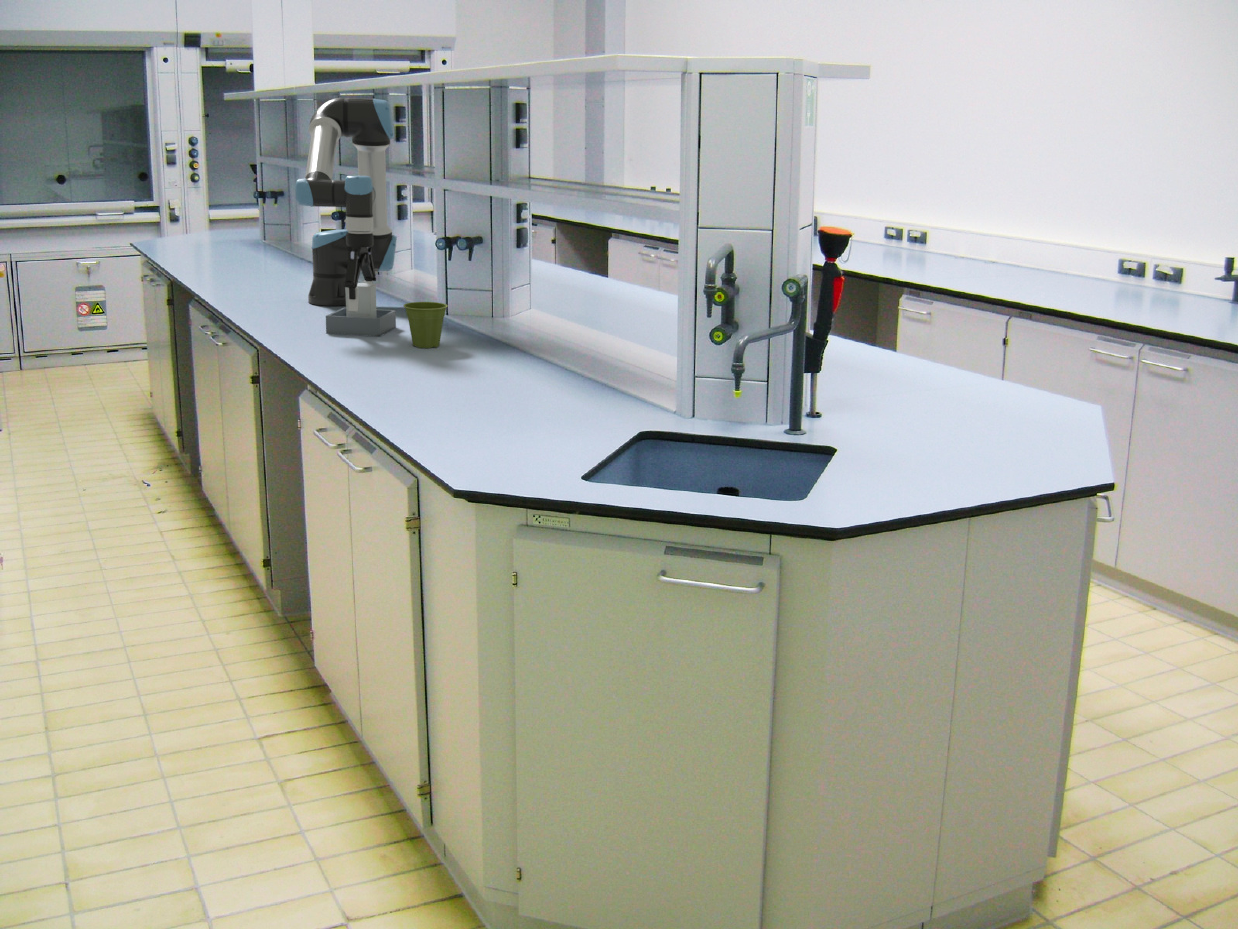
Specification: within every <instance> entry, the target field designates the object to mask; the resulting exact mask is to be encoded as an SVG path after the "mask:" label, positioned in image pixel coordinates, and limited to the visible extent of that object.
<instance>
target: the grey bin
mask: <svg viewBox="0 0 1238 929" xmlns="http://www.w3.org/2000/svg"><path fill="white" fill-rule="evenodd" d="M396 312H397V311H396V310H393V309H391V310H390V309H377V308H376V313H377V318H362V317H346V307H342V308H340V309H338V310H335V311H334V312H330V313H329V314H327V315H325V334H329V335H330V334H333V335H344V336H345V335H348V336H363V337H364V336H365V337H382V336H384V335H386V334H387V333H389V332H390V331H393V330H394V329H396V327H397V313H396Z"/></svg>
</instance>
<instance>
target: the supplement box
mask: <svg viewBox="0 0 1238 929" xmlns="http://www.w3.org/2000/svg"><path fill="white" fill-rule="evenodd" d="M376 285H377V284H376V283H374V282H373V283H363V282H358V284H357V288H358V300H359V311H349V309H348V288H347V287H345V291H346V305H345V308H346V317H362V318H377V313H376V309H377V286H376Z"/></svg>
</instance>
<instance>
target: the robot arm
mask: <svg viewBox="0 0 1238 929" xmlns="http://www.w3.org/2000/svg"><path fill="white" fill-rule="evenodd" d="M393 117H394V116H393V112H392V107H391V104H390V103H389V101H387V100H385V99H378V98H366V97H365V98H361V97H360V98H359V97H358V98H357V97H335V98H332V99H329V100H327V101H326V102H324V103H322V105H320V106H319V107H318V108H317V109H316V110H315V112H314V113H313V115H312V116H311V118H310V121H309V124H308V125H309V126H308V132H309V135H310V143H309V151H308V155H307V156H308V157H307V163H306V169H305V177H304V178H298V179H297V180H296V181H295V187H294V188H295V189H294V190H295V191H294V192H295V200H296V203H297V205H299V206H305V207H309V208H312V207H320V208H321V207H322V208H323V207H324V208H326V207H329V208H330V207H331V208H345V219H344V221H343V222H344V223H345V229H333V230H331V229H330V230H324V231H320V232H317V233H314V234H313V235H312V239H311V240H312V241H311V242H312V243H311V244H312V245H311V249H312V276H313V277H312V283H311V285H310V289H309V292H308V296H307V298H308V303H309V304H311V305H314V306H315V305H316V306H328V307H329V306H330V307H332V306H334V307H337V306H339V307H340V306H346V291H345V287H347V288H348V309H349V311H359V300H358V288H357V284H358V283H359V278H360V273H361V272H362V276H363V278H364V280H363V282H362V283H374V282H376V281H377V276H376V275H377V274H376V272H377V273H380V272H390V271H391V270H393V269H394V262H395V258H396V256H395V255H396V250H397V249H396V247H397V235H395V234H393V229H392V228H391V227H390V226H389V225H388V209H387V207H388V205H387V170H386V169H387V167H386V166H387V165H386V164H387V161H386V149H388V147H389V146H390V145H391V140H393V139H395V136H396V135H395V134H396V133H395V127H394V126H395V125H394V124H395V123H394V118H393ZM344 137H345V138H351V141H352V143H351V144H352V145H353V146H354V147H355V148H356V149H357V151H356V152H357V168H358V169H357V171H358V172H357V174H358V175H346V177H345V179H344V180H343V179H342V180H338V179H333V174H334V166H335V159H336V151H337V142H338V141H339V140H340V138H344Z"/></svg>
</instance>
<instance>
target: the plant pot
mask: <svg viewBox="0 0 1238 929" xmlns="http://www.w3.org/2000/svg"><path fill="white" fill-rule="evenodd" d="M402 307H403V308H404V309H405V313H406V317H407V320H408V325H409V331H410V337H411V341H412V346H413V347H415V348H418V349H430V348H433V347H434V348H438V347H439V346H440V345H441V337H442V333H443V332H442V331H443V324H444V317H445V314H446V309H447V308H448V307H449V306H448V304H447V303H442V302H434V301H413V302H407V303H404V304H403V306H402Z"/></svg>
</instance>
